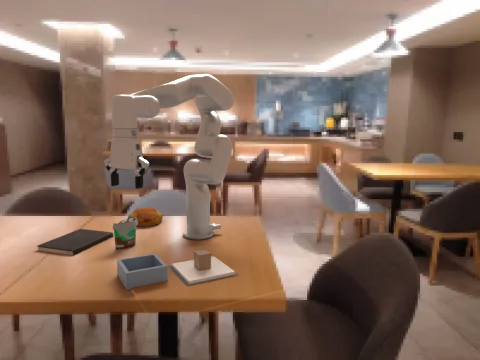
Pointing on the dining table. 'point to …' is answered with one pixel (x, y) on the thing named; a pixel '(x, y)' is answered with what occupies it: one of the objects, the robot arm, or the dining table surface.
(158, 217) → the croissant
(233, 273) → the lid
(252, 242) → the dining table surface
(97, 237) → the hardcover book
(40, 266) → the dining table surface
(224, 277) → the mat
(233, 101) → the robot arm
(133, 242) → the food container
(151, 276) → the dish
